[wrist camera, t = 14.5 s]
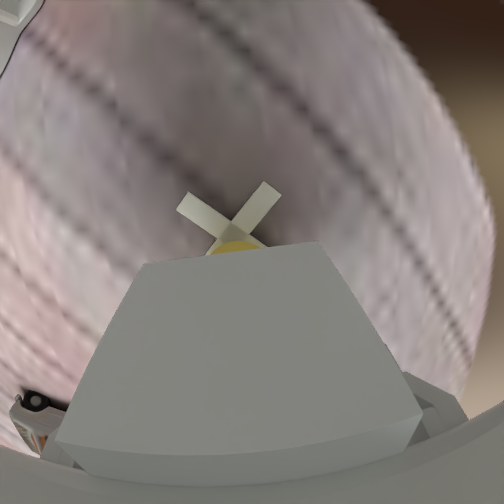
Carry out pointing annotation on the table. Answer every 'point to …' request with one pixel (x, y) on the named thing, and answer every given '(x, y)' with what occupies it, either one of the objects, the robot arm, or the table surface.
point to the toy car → (35, 419)
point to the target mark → (239, 224)
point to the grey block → (238, 376)
